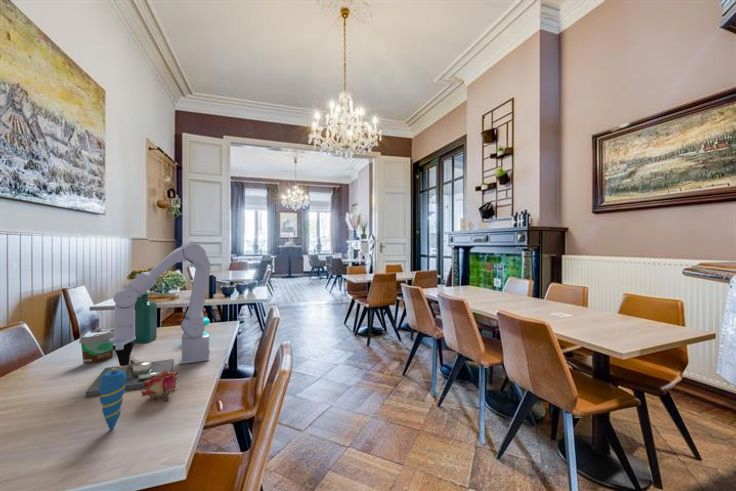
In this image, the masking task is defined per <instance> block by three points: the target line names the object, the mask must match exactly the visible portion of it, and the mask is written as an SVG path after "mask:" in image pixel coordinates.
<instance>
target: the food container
mask: <svg viewBox="0 0 736 491" xmlns="http://www.w3.org/2000/svg"><path fill="white" fill-rule="evenodd" d="M113 338H114V328H110V331H107V332H103V333H98V334H94V335H92V336H80V338H79V342H78V343H79V344H80V345H81V354H82V364H83V365H89V364H90V365H91V364H92V365H93V364H98V363H103V362H106V361H109V360H111V359H113V357H114V350H113V346H114V345H115V344H114V343H113V342H109V340H110V339H113Z"/></svg>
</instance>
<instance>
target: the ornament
mask: <svg viewBox="0 0 736 491" xmlns="http://www.w3.org/2000/svg"><path fill="white" fill-rule="evenodd" d="M111 367H112V369H111V371H110V372H107V373H105V374H103V375H102V377H101V385H100V386H99V389H98V390H99V393H100V394H101V395H100V396H99V397H100V398H99V402H100V404H101V405H102V408H101V409H102V410H101V411H102V415H103V417H104V419H105V422H106V424H107V426H108V429H109V430H114V428H115V426H116V424H117V422H118V420H119V417H120V415H121V410H122V409H121V408H122V405H123V401H124V399H123V396H124V394H125V392H126V391H125V382H126V379H127V375H126V373H125V372H124V371H122V370H116V366H114V365H112V366H111ZM113 367H115V368H113Z"/></svg>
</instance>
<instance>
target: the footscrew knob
mask: <svg viewBox="0 0 736 491" xmlns="http://www.w3.org/2000/svg"><path fill="white" fill-rule="evenodd" d="M152 362H153V361H151V360H142V361H140V360H138V359H136V358H134V357H133V356H130V359H129V363H128V366H130V367H132V368H133V375H134V376H139V375H143V374H149V373H150V372H151V364H152Z"/></svg>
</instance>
